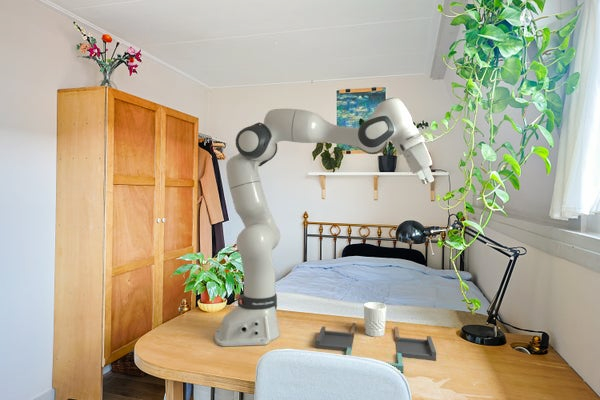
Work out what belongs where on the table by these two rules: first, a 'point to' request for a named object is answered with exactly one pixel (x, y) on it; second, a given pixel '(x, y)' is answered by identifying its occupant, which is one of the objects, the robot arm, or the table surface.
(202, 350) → the table surface
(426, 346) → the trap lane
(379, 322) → the white cup
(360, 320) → the table surface
